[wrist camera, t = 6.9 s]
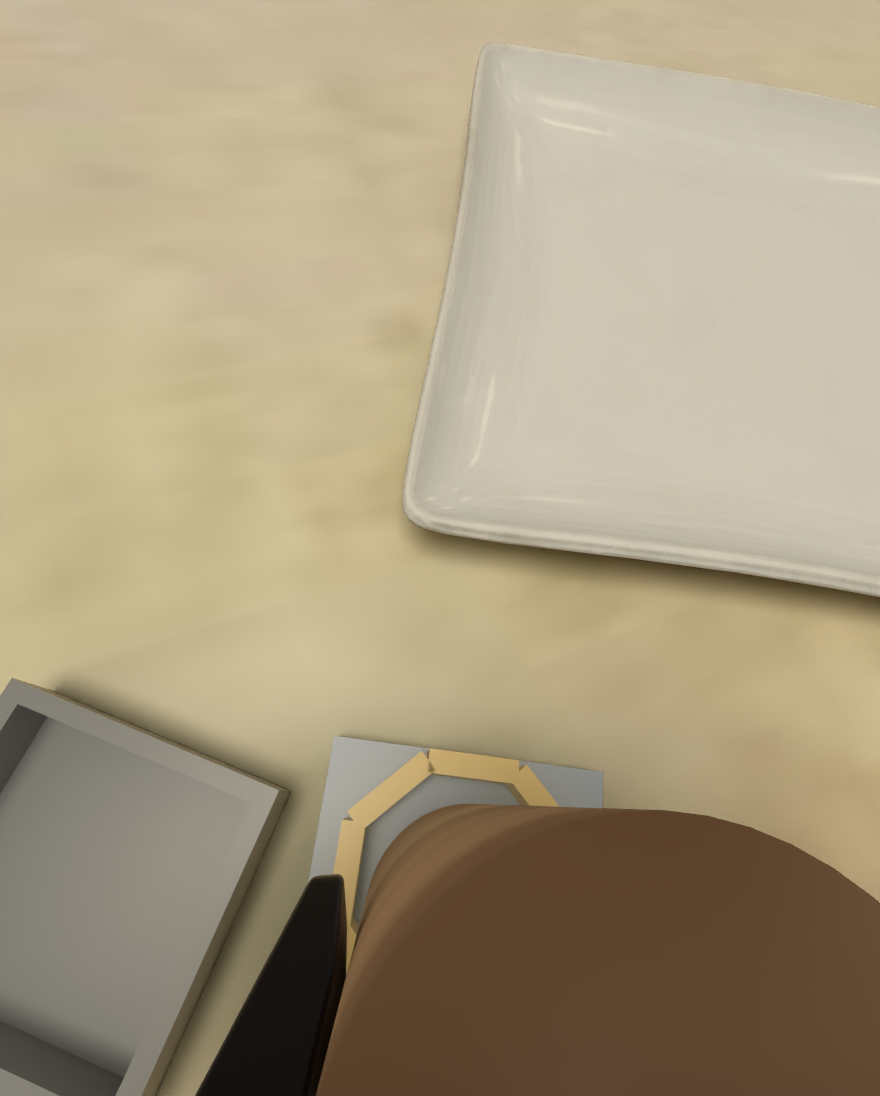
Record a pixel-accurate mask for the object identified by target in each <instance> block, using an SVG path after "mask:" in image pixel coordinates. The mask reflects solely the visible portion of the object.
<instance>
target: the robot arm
mask: <svg viewBox="0 0 880 1096" xmlns="http://www.w3.org/2000/svg"><path fill="white" fill-rule="evenodd" d="M346 961H347V915H346V901H345V888H344V879H343V877H342V875H340V874H331V875H318V876H314V877H313V878H312V879H311V880H310V881H309V883H308V884H307V886H306V888H305V890H304V892H303V894H302V896H301V897H300V899H299V901H298V903H297V905H296V907H295V909H294V911H293V912H292V914H291V916H290V918H289V920H288V922H287V924H286V926H285V928H284V929H283V931H282V933H281V935H280V937H279V939H278V941H277V943H276V944H275V946H274V948H273V950H272V952H271V954H270V956H269V958H268V960H267V961H266V963H265V965H264V967H263V969H262V971H261V973H260V975H259V976H258V978H257V980H256V982H255V984H254V986H253V988H252V990H251V992H250V993H249V995H248V997H247V999H246V1001H245V1003H244V1005H243V1007H242V1008H241V1010H240V1012H239V1014H238V1016H237V1018H236V1020H235V1022H234V1024H233V1025H232V1027H231V1029H230V1031H229V1033H228V1035H227V1037H226V1039H225V1040H224V1042H223V1044H222V1046H221V1048H220V1050H219V1052H218V1054H217V1056H216V1057H215V1059H214V1061H213V1063H212V1065H211V1067H210V1069H209V1071H208V1072H207V1074H206V1076H205V1078H204V1080H203V1082H202V1084H201V1086H200V1088H199V1089H198V1091H197V1093H196V1095H195V1096H316V1093H317V1089H318V1085H319V1081H320V1077H321V1074H322V1070H323V1066H324V1062H325V1058H326V1054H327V1050H328V1046H329V1042H330V1038H331V1034H332V1030H333V1026H334V1022H335V1018H336V1014H337V1011H338V1007H339V1003H340V999H341V995H342V991H343V987H344V983H345V979H346Z"/></svg>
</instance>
